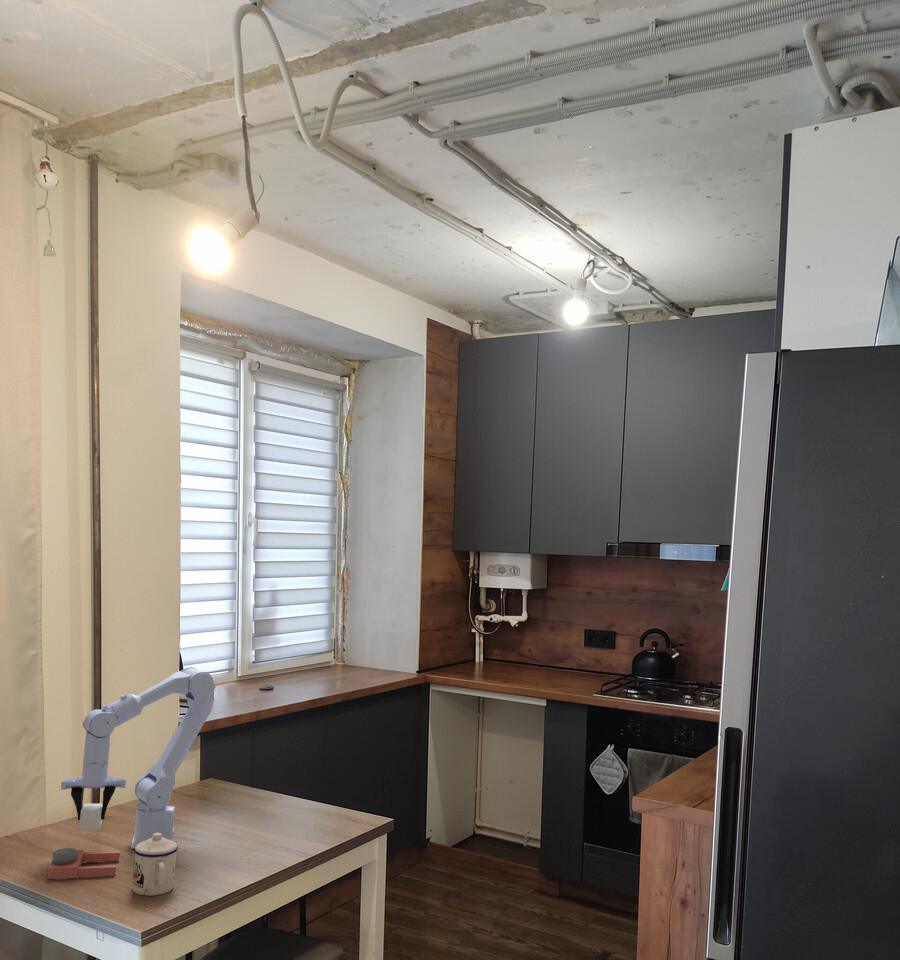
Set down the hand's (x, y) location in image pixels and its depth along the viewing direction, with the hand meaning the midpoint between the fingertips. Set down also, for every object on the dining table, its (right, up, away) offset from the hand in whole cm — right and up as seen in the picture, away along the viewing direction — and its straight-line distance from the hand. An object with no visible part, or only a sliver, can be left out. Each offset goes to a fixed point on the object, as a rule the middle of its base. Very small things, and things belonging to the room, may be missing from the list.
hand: (91, 818), depth 209 cm
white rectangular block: (0, -2, 0) cm, 2 cm away
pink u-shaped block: (+3, -7, -11) cm, 13 cm away
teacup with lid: (+22, -8, -21) cm, 31 cm away
